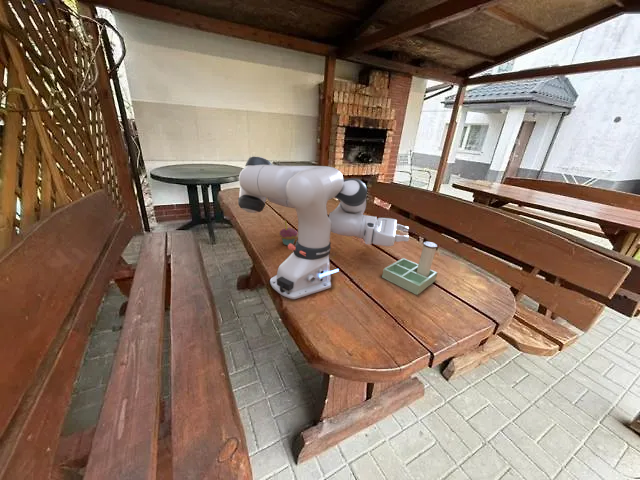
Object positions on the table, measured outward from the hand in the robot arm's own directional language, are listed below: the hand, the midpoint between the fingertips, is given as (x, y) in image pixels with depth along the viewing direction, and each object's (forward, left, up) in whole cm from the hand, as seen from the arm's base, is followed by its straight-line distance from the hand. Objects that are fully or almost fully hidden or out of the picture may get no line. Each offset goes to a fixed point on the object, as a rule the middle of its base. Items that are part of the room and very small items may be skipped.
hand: (408, 234), depth 94 cm
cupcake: (-17, +48, -18) cm, 54 cm away
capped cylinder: (+4, -7, -17) cm, 18 cm away
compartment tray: (0, -4, -18) cm, 18 cm away
